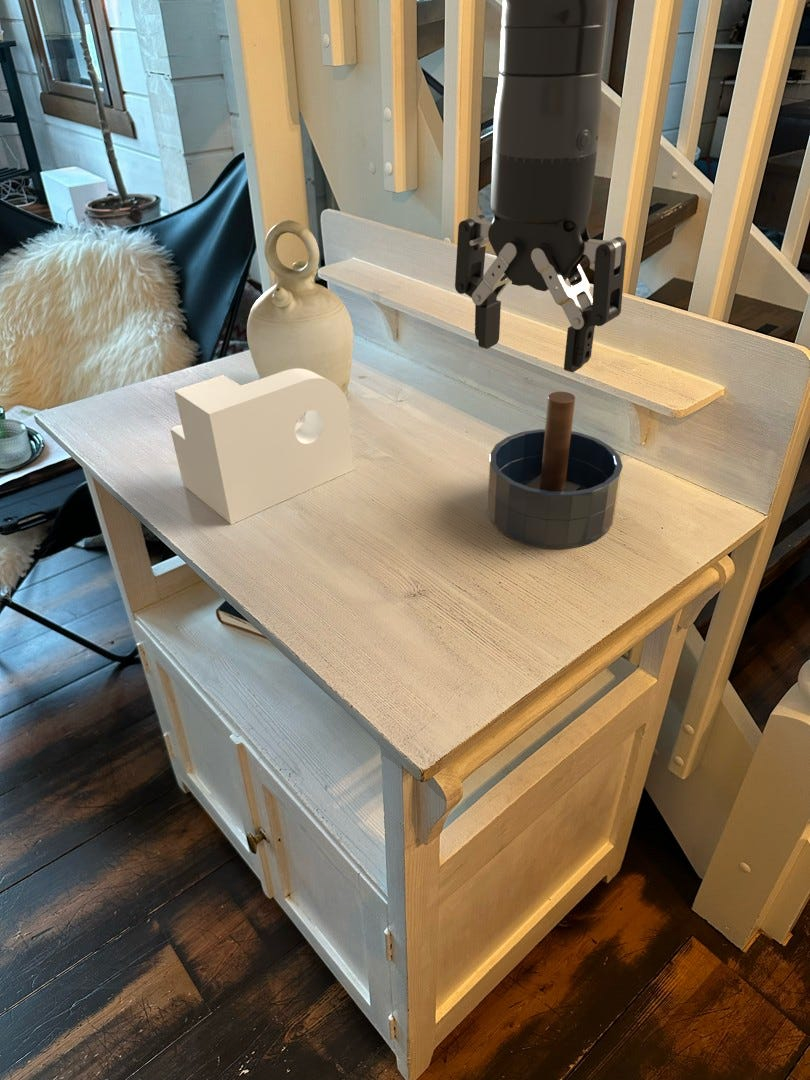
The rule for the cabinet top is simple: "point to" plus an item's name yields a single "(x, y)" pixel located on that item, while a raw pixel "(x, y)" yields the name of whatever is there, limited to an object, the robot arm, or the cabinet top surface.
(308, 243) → the jug
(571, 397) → the brown cylinder
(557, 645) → the cabinet top surface
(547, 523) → the pot
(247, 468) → the tape dispenser
